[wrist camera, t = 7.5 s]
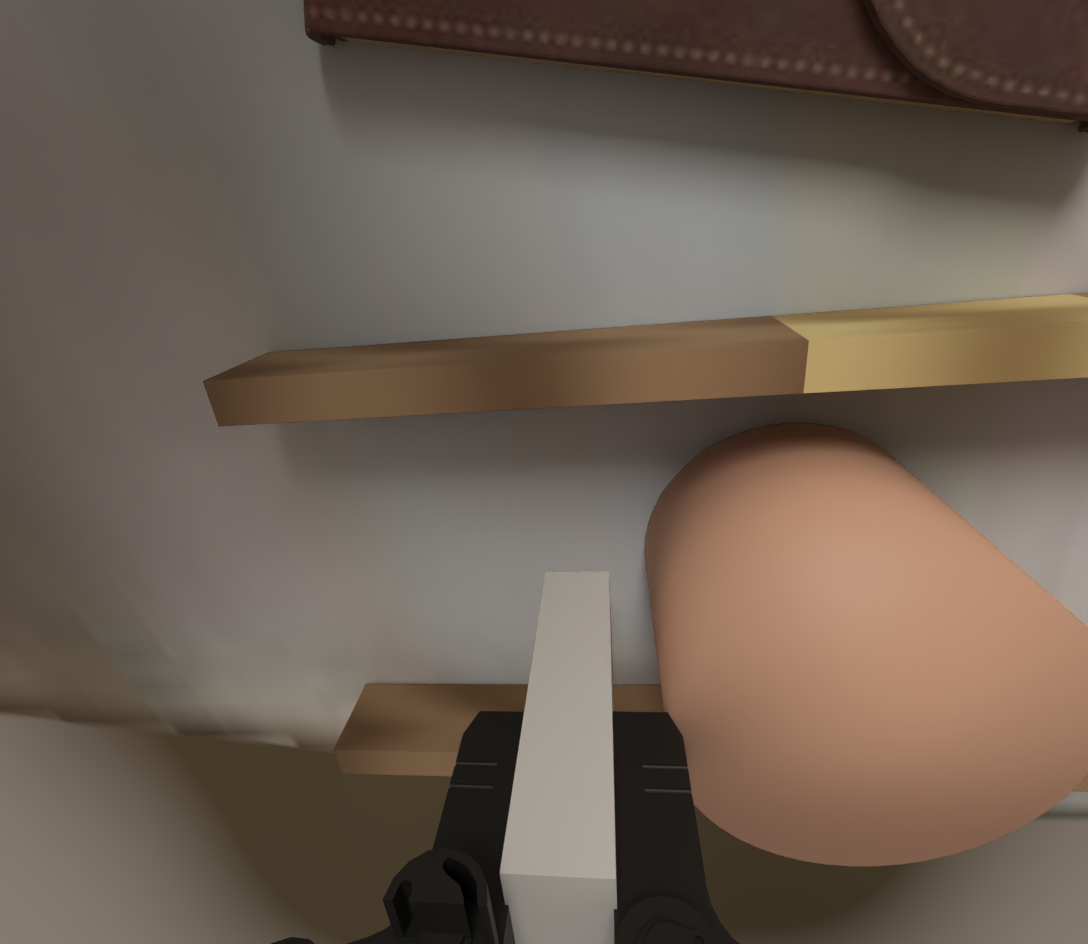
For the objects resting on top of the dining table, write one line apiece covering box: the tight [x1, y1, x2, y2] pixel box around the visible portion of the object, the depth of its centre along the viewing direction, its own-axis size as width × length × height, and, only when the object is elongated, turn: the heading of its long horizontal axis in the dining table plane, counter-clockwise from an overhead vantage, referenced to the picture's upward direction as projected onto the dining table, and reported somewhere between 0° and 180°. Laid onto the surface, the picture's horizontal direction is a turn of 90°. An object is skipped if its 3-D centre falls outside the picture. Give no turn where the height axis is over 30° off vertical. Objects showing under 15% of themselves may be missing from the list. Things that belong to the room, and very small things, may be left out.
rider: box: [645, 423, 1088, 866], centre depth 12 cm, size 7×7×6 cm
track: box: [203, 293, 1088, 792], centre depth 14 cm, size 31×14×2 cm, turn 95°
